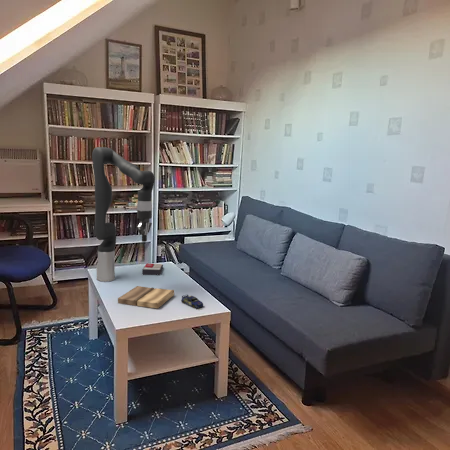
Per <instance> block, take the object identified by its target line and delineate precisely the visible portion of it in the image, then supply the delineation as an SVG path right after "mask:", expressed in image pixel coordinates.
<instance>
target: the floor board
mask: <svg viewBox="0 0 450 450" xmlns="http://www.w3.org/2000/svg"><path fill="white" fill-rule="evenodd" d="M153 289H155V287H147V286H140V285H137V286H135V287H134V288H132V289H130V290H129V291H127V292H126V293H124V294H122V295H121V296H120V297H117V304H120V305H127V306H135V307H138V306H137V301H138V300H139V299H141V298H142V297H144V296H145V295H146V294H148V293H149V292H151V291H152V290H153Z"/></svg>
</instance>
